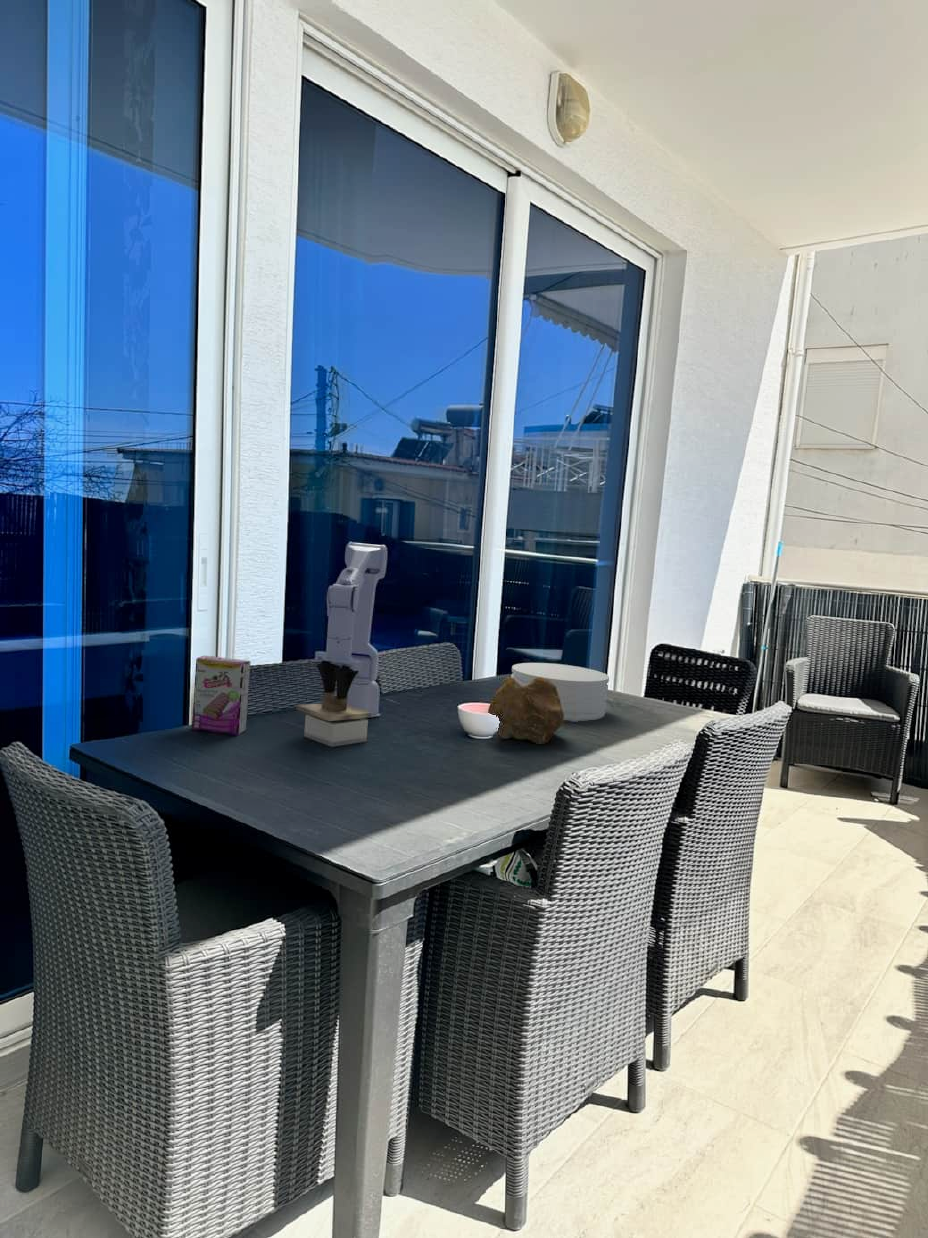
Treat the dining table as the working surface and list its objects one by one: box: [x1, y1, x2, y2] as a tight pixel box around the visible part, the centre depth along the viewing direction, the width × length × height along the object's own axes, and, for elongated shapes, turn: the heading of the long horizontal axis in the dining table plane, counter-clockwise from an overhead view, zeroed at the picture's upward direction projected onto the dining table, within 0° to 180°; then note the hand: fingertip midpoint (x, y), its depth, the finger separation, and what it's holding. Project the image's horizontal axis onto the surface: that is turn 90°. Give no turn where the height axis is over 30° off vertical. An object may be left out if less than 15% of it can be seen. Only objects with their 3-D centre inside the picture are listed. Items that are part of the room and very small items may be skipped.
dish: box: [303, 714, 369, 748], centre depth 200 cm, size 10×10×5 cm
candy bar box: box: [191, 655, 251, 736], centre depth 198 cm, size 11×5×16 cm, turn 84°
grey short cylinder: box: [510, 662, 610, 720], centre depth 255 cm, size 28×28×12 cm
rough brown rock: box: [487, 676, 565, 745], centre depth 217 cm, size 23×17×15 cm
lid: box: [295, 691, 372, 721], centre depth 200 cm, size 12×12×4 cm
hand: (335, 696), depth 200 cm, fingers closed on lid, 4 cm apart
